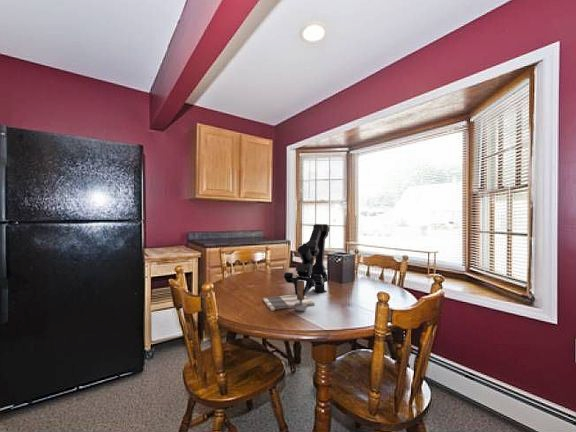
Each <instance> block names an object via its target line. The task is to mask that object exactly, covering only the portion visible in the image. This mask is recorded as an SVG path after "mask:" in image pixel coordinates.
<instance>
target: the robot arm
mask: <svg viewBox="0 0 576 432" xmlns="http://www.w3.org/2000/svg"><path fill="white" fill-rule="evenodd" d="M312 227H313V228H312V231H311V235H310V238H309V240H308V241H306V242H304V243H302V245H300V246H298V247H297V254H298V256H299V258H300V260H301V264H300V263H296V265H295V272H296V274H294V273H293V272H288V271H287V272H285V273H284V274H283V278H284V280H285V282H286V283H288V284H293V286H294V295H295V294H296V295H297V281H304V282H305V284H304V292H303V296H306V295H307V293H308V292H309V291H310V290H311V289H312V292H314V293H316V294H320V293H321V294H322V293H327V290H326V289H325V283H327V282H328V281H329V280H328V279H329V278H328V277H329V276H328V274H327V269H326V266H325V265H324V261H325V260H324V259H325V258H324V257H325V247H326V245H325V243H326V239H327V238H328V236H329V232H330V226H329V225H328V223H326V224H325V223H315V224H313V226H312ZM314 257H315V258H314Z"/></svg>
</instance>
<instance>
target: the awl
mask: <svg viewBox="0 0 576 432" xmlns="http://www.w3.org/2000/svg"><path fill="white" fill-rule="evenodd" d="M304 288H305V281H301V280H299V281H297V299H298V300H299V302H297V303H295V308H294V309H295V311H298V312H299V311H301V312H302V311H306V310H307V308H308V306H307V304H306V303H304V302H302V300H304V296H303V292H304Z"/></svg>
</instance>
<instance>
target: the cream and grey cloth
mask: <svg viewBox="0 0 576 432" xmlns="http://www.w3.org/2000/svg"><path fill="white" fill-rule="evenodd" d="M262 301H263V302H264V303H265V304H266V306H267V307H268V309H269V310H270V311H271V312H273V311H279V310H287V309H295V303H297V302H299V300H298V299H297V295H296V294H295V293H294V294H288V295H281V296H280V295H278V296H276V295H275V296H269V297H263V298H262ZM302 302H304V303H306V304H307V307H311V306H312V307H313V306H315V302H314V301H312V300H311V299H310V297H308V296H306V295H305V296H304V300H302Z"/></svg>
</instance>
